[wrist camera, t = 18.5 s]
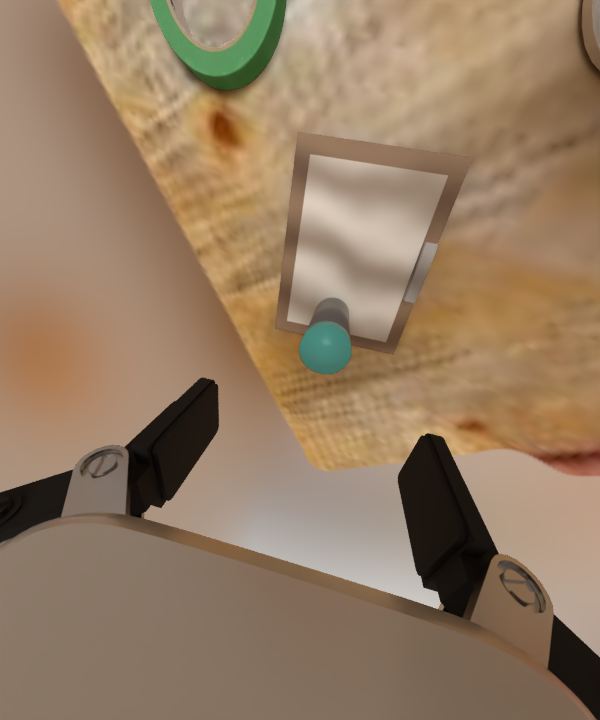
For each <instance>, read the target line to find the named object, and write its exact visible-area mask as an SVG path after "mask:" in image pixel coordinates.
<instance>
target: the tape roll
mask: <svg viewBox="0 0 600 720" xmlns="http://www.w3.org/2000/svg"><path fill="white" fill-rule="evenodd" d="M150 2H151V5H152V8H153V11H154V14H155V17H156V19H157V21H158V24H159V26H160V28H161V30H162V32H163V34H164V36H165V38H166V39H167V41H168V43H169V44H170V46H171V47H172V49H173V50H174V52H175V53H176V54H177V55H178V56H179V58H180V59H181V60H182V61H183V62H184V63H185V64H186V65H187V66H188V68H189V69H190V70H191V71H192V72H193V73H194V74H195V75H196V76H197V77H198V78H199V79H200V80H202V81H203V82H205V83H206V84H208V85H209V86H211V87H214V88H217V89H221V90H235V89H239V88H242V87H244V86H246V85H248V84H249V83H251V82H252V81H253V80H255V79H256V78H257V77H258V76H259V75H260V74H261V72H262V71H263V70H264V69H265V67H266V66H267V64H268V63H269V61H270V59H271V57H272V55H273V53H274V51H275V49H276V46H277V44H278V41H279V38H280V34H281V31H282V27H283V22H284V16H285V8H286V0H254V2H253V6H252V10H251V12H250V14H249V16H248V18H247V21H246V23H245V25H244V26H243V28H242V30H241V31H240V32H239V33H238V35H237V36H236V37H235V38H234V39H233V40H231V41H228V42H227V43H223V45H222V46H221V47H208V46H204V45H202V44H200V43H198V42H197V41H195V40H194V39H193V38H192V35H191V33H190V31H189V29H188V26H187V23H186V20H185V16H184V12H183V6H182V0H150Z"/></svg>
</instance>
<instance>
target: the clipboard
mask: <svg viewBox="0 0 600 720" xmlns="http://www.w3.org/2000/svg"><path fill="white" fill-rule="evenodd" d="M471 160H472V158H470V157H463V156H457V155H450V154H443V153H436V152H430V151H423V150H416V149H410V148H403V147H396V146H389V145H383V144H376V143H369V142H362V141H356V140H349V139H342V138H335V137H329V136H322V135H315V134H308V133H302V132H298V136H297V144H296V153H295V161H294V170H293V179H292V187H291V196H290V205H289V213H288V222H287V231H286V239H285V248H284V257H283V265H282V274H281V282H280V291H279V300H278V308H277V317H276V326H275V329H280V330H284V331H289V332H293V333H298V334H303V335H304V333H305V332H306V330H307V328H308V326H309V323H310V321H311V319H312V317H313V314H314V312H315V310H316V307H317V306H318V304H319V303H320V302H321V301H322V300H324V299H326V298H338V299H340V300H342V301H343V302H344V303H345V304H346V305H347V307H348V310H349V326H350V340H351V345H352V346H357V347H362V348H366V349H371V350H375V351H380V352H384V353H389V354H394V352H395V349H396V347H397V344H398V342H399V339H400V337H401V334H402V332H403V329H404V327H405V324H406V322H407V319H408V317H409V314H410V312H411V309H412V307H413V304H414V303H415V302H416V300H417V297H418V295H419V293H420V290H421V288H422V285H423V283H424V280H425V278H426V275H427V273H428V270H429V268H430V265H431V263H432V260H433V258H434V255H435V253H436V251H437V248H438V246H439V244H438V242H439V240H440V237H441V235H442V232H443V230H444V227H445V225H446V222H447V220H448V217H449V215H450V212H451V210H452V208H453V205H454V203H455V200H456V198H457V195H458V193H459V190H460V188H461V185H462V183H463V180H464V178H465V175H466V173H467V170H468V168H469V165H470V163H471Z"/></svg>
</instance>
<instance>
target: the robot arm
mask: <svg viewBox="0 0 600 720" xmlns="http://www.w3.org/2000/svg"><path fill="white" fill-rule="evenodd" d="M582 32H583V38H584V44H585V48H586V50H587V53H588V55H589V57H590V59H591V61H592V63H593V64H594V65H595V66H596V67H597V68H598V69H599V71H600V0H583V5H582ZM218 413H219V412H218V385H217V384H215V381H214V380H210V379H206V378H200V379H199V380H198V381H197V382H196V383H195V384H194V385H193V386H191V388H189V389H188V390H187V391H186V392H185V393H184V394H183V395H182V396H181V397H180V398H179V399H178V400H177V401H174V402H173V403H172V404H170V405H169V406H168V407H167V408H166V409H165V410H164V411H163V412H162V413H161V414H160V415H159V416H157V417H156V418H155V419H154V420H153V421H152V422H151V423H150V424H149V425H148V426H147V427H146V428H145V429H143V430H142V431H141V432H140V433H139V434H138V435H137V436H136V437H135V438H134V439H133V440H132V441H131V442H130V443H129V444H127V445H126V446H125V447H122V446H119V445H110V446H104V447H101V448H98V449H95V450H94V451H92V452H90V453H88V454H87V455H85V456H84V457H83V458H81V459H80V461H79V462H78V463H77V464H76V466H75V468H74V470H70V471H67V472H64V473H61V474H58V475H54V476H51V477H48V478H46V479H42V480H39V481H36V482H32V483H29V484H26V485H23V486H20V487H16V488H14V489H10V490H7V491H4V492H1V493H0V720H600V657H599V656H598V655H597V654H595V653H594V652H593V651H592V650H591V649H590V648H589V647H588V646H587V645H586V644H585V643H584V642H583V641H582V640H580V638H578V637H577V636H576V635H575V634H574V633H573V632H572V631H571V630H570V629H569V628H568V627H567V626H566V625H565V624H564V623H563V622H561V621H560V620H559V619H558V618H557V617H556V616H555V615H554V613H553V605H552V602H551V600H550V597H549V595H548V593H547V592H546V590H545V588H544V587H543V585H542V584H541V582H540V581H539V580H538V579H537V578H536V576H535V575H534V574H533V573H532V572H531V571H530V570H528V568H527V567H525V566H524V565H523V564H522V563H520V562H519V561H517V560H516V559H514V558H512V557H510V556H508V555H503V554H499V553H498V551H497V549H496V547H495V545H494V542H493V541H492V538H491V536H490V534H489V532H488V530H487V528H486V526H485V524H484V522H483V520H482V517H481V515H480V513H479V511H478V509H477V507H476V505H475V503H474V501H473V499H472V496H471V494H470V492H469V490H468V488H467V486H466V484H465V482H464V480H463V478H462V476H461V474H460V471H459V469H458V467H457V465H456V463H455V461H454V459H453V457H452V455H451V453H450V450H449V448H448V446H447V444H446V442H445V440H444V438H443V437H441V436H437V435H433V434H429V433H427V434H425V436H421V437H420V438H419V440H418V442H417V443H416V445H415V447H414V449H413V450H412V452H411V454H410V455H409V457H408V459H407V460H406V462H405V464H404V466H403V467H402V469H401V471H400V473H399V475H398V484H399V490H400V494H401V499H402V504H403V509H404V514H405V519H406V524H407V529H408V534H409V538H410V543H411V548H412V553H413V558H414V563H415V567H416V571H417V574H418V575H419V576H421V578H422V583H423V587H424V588H427V589H431V590H433V591H437V592H438V594H439V598H440V602H441V604H440V606H439V608H438V609H435V608H433V607H430V606H427V605H424V604H421V603H418V602H414V601H412V600H408V599H406V598H403V597H399V596H396V595H393V594H390V593H387V592H383V591H380V590H377V589H374V588H371V587H368V586H365V585H361V584H358V583H355V582H352V581H349V580H345V579H342V578H339V577H336V576H333V575H330V574H326V573H323V572H320V571H316V570H313V569H310V568H307V567H303V566H300V565H297V564H294V563H290V562H288V561H284V560H281V559H278V558H274V557H271V556H268V555H265V554H261V553H258V552H255V551H252V550H248V549H245V548H242V547H239V546H235V545H232V544H229V543H225V542H222V541H219V540H215V539H212V538H209V537H206V536H202V535H199V534H196V533H192V532H189V531H186V530H182V529H179V528H175V527H171V526H168V525H164V524H161V523H157V522H154V521H150V520H146V519H144V512H146V511H147V509H148V508H149V507H150V505H153V506H156V507H159V508H161V507H162V506H163V505H164V503H165V502H166V500H168V501H169V500H171V499H172V498H173V496H174V495H175V493H176V492H177V491H178V489H179V488H180V486H181V484H182V483H183V482H184V480H185V479H186V477H187V476H188V474H189V473H190V471H191V470H192V468H193V467H194V465H195V464H196V462H197V461H198V460H199V458H200V456H201V455H202V454H203V452H204V451H205V449H206V448H207V446H208V445H209V443H210V442H211V440H212V439H213V437H214V436H215V434H216V433H217V431H218V427H219V414H218Z"/></svg>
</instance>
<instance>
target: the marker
mask: <svg viewBox="0 0 600 720" xmlns="http://www.w3.org/2000/svg"><path fill="white" fill-rule="evenodd" d="M299 353H300V357H301V359H302V361H303V363H304V364H305V365H306V366H307V367H308V368H309V369H311V370H312V371H314V372H317V373H320V374H332V373H335V372H338V371H340V370H341V369H343V368H344V367H345V366H346V365H347V363H348V362H349V360H350V357H351V340H350V326H349V310H348V307H347V305H346V304H345V303H344V302H343V301H342V300H340V299H338V298H326V299H324V300H322V301H321V302H320V303H319V304H318V306H317V307H316V310H315V312H314V314H313V317H312V319H311V321H310V323H309V326H308V328H307V330H306V332H305V333H304V336H303V338H302V340H301V343H300V346H299Z"/></svg>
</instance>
